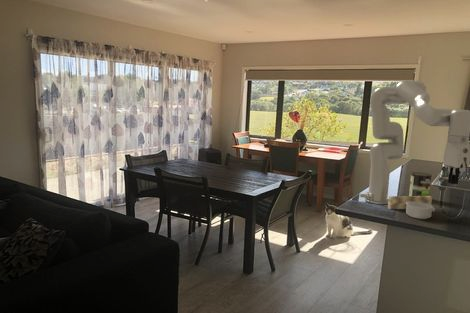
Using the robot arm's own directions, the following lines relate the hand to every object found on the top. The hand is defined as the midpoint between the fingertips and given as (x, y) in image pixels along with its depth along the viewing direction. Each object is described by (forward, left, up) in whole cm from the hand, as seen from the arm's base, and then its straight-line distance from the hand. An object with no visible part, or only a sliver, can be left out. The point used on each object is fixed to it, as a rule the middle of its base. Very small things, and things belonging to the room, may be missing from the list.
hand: (452, 183), depth 155 cm
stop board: (0, +28, -19) cm, 34 cm away
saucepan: (0, +13, -19) cm, 23 cm away
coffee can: (+17, +46, -19) cm, 53 cm away
